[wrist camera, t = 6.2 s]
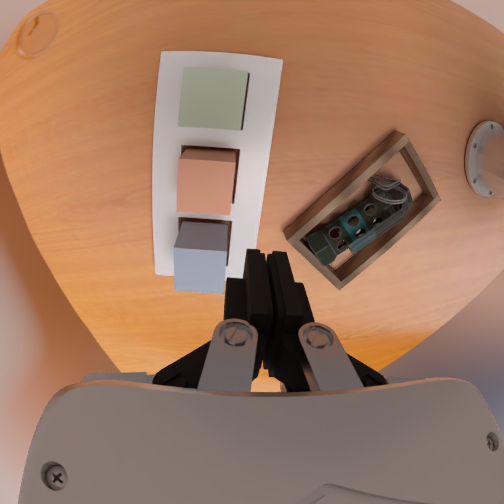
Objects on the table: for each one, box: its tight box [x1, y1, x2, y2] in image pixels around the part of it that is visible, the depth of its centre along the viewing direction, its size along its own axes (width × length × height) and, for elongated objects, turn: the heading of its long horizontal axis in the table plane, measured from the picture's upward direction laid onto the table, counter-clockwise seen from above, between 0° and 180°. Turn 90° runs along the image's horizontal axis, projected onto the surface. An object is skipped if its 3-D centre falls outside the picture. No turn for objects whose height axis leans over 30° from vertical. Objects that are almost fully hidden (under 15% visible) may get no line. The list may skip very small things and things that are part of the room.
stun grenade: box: [306, 175, 413, 266], centre depth 31 cm, size 6×6×14 cm
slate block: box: [174, 221, 227, 294], centre depth 30 cm, size 5×5×6 cm
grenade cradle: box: [283, 131, 441, 290], centre depth 33 cm, size 19×11×2 cm, turn 134°
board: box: [152, 51, 283, 280], centre depth 29 cm, size 26×12×2 cm, turn 172°
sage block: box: [178, 67, 248, 131], centre depth 22 cm, size 5×5×6 cm
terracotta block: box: [176, 148, 236, 215], centre depth 27 cm, size 5×5×6 cm
